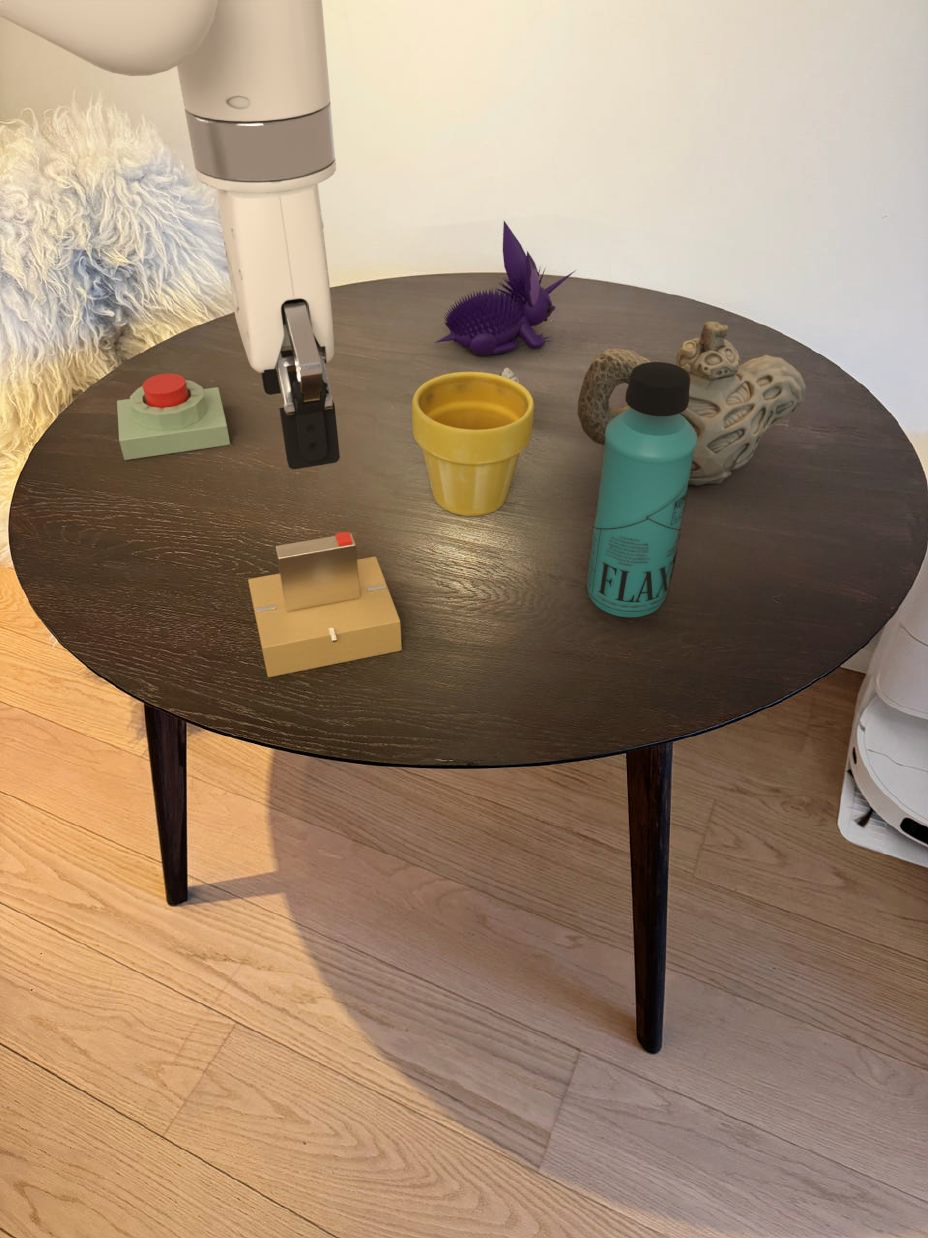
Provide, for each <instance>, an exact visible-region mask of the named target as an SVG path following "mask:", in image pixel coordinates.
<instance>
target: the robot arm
mask: <svg viewBox="0 0 928 1238" xmlns="http://www.w3.org/2000/svg"><path fill="white" fill-rule="evenodd" d="M0 18H3V19H5V20H7V21H9V22H11V23H13V24H15V25H16V26H18V27H21V28H23V29H24V30H26V31H28V32H30V33H32V34H33V35H36V36H38V37H40V38H42V39H43V40H46V41H47V42H49V43H51V44H53V45H55V46H57V47H59V48H61V49H63V50H65V51H66V52H69V53H70V54H72V55H73V56H76V57H77V58H79V59H81V60H83V61H85V62H87V63H89V64H91V65H93V66H94V67H97V68H99V69H101V70H103V71H106V72H109V73H112V74H117V75H123V76H129V77H145V76H146V77H147V76H153V75H157V74H160V73H164V72H168V71H170V70H172V69H174V68H176V69H177V74H178V75H177V76H178V80H179V86H180V92H181V97H182V102H183V107H184V114H185V120H186V125H187V130H188V137H189V142H190V147H191V153H192V154H191V155H192V159H193V164H194V169H195V175H196V179H197V180H198V181H199V182H200V183H201V184H204V185H205V186H208V187H209V188H213V189H216V190H217V201H218V202H217V203H218V211H219V217H220V225H221V231H222V238H223V243H224V244H223V245H224V252H225V257H226V264H227V269H228V270H227V271H228V276H229V283H230V289H231V296H232V297H231V298H232V304H233V311H234V317H235V320H236V321H235V322H236V326H237V328H238V332H239V335H240V338H241V341H242V344H243V348H244V351H245V355H246V357H247V360H248V363H249V365H250V367H251V368H252V369H253V370H254V371H256V372H257V373H259V374H261V380H262V381H261V382H262V386H263V390H264V392H265V394H266V395H269V396H270V395H277V394H281V399H282V404H283V407H279V408H278V410H279V416H280V423H281V430H282V437H283V444H284V451H285V458H286V462H287V465H288V468H289V469H292V470H300V469H307V468H311V467H317V466H324V465H330V464H336V463H338V462H339V460H340V458H341V455H340V443H339V435H338V425H337V416H336V406H335V402H334V400H333V397H332V392H331V386H330V380H329V377H328V371H327V366H326V365H327V364H328V363H329V362H330V361H331V360H332V359H333V357H334V356H335V335H334V321H333V319H334V318H333V309H332V298H331V297H332V296H331V287H330V279H329V278H330V277H329V267H328V259H327V258H328V257H327V250H326V241H325V234H324V233H325V231H324V222H323V216H322V207H321V199H320V192H319V191H320V190H319V184H320V183H323V182H325V181H327V180H329V178H331V177H332V176H333V175H334V174H335V172H336V171H337V162H336V161H337V160H336V152H335V139H334V127H333V115H332V105H331V94H330V93H331V92H330V81H329V69H328V68H329V67H328V56H327V55H328V54H327V44H326V32H325V22H324V9H323V0H0Z"/></svg>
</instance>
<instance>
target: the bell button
mask: <svg viewBox="0 0 928 1238" xmlns="http://www.w3.org/2000/svg"><path fill="white" fill-rule="evenodd" d="M185 380H186V378H185V377H184V376H182V375H180V374H176V373H161V374H157V375H154V376H150V377H149V378H146V380H145V381H144V382H143V383H142V386H143V390H144V394H145V398H146V402H147V404H148V406H150V407H158V408H166V407H174V406H177V405H180V404H182V403H184V402H186V401H187V400H188V399H189V395H188V390H187V385H186V381H185Z"/></svg>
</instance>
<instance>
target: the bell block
mask: <svg viewBox="0 0 928 1238" xmlns="http://www.w3.org/2000/svg"><path fill="white" fill-rule="evenodd" d="M185 381H186V385H187V390H188V395H189V399H188V400H187V401H186V402H184V403H182V404H180V405H177V406H174V407H166V408H158V407H150V406H148V404H147V402H146V398H145V394H144V390H143V385H142V386H139V387H138V388H137V389H136V390H135V391H133V393H131V394H130V395H129V398H125V399H118V400H116V408H117V410H116V411H117V426H118V427H117V428H118V429H117V430H118V442H119V446H120V449H121V453H122V456H123V460H124V461H128V460H136V459H143V458H149V457H156V456H164V455H169V454H177V453H184V452H191V451H197V450H203V449H205V450H206V449H211V448H218V447H222V446H223V447H224V446H230V445H231V440H230V435H229V428H228V424H227V420H226V415H225V411H224V406H223V405H224V404H223V401H222V396H221V391H220V388H219V386H217V387H216V386H215V387H208V388H204V387H203V386H201V385H200V384H198V383H196V382H195V381H193V380H188V379H185Z"/></svg>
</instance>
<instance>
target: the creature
mask: <svg viewBox="0 0 928 1238" xmlns="http://www.w3.org/2000/svg"><path fill="white" fill-rule="evenodd" d="M502 227H503V229H502V258H503V268H504V270H505V273H506V276H507V278H508V279H507V278H506V277H504V276H503V278H502V280H503V281H504V282H505V283H506V284H507V285H508V286H507V285H505V284H504V283H502V282H500V281H499V282H498V284H499V285H500V286H501V287H502V288H504V289H500V288H498V287H497V288H495V287H494V288H491V289H488V290H487V289H485V290H482V292H481V289H479V290H476V292H475V291H474V290H473V291H472V292H470V293H467V296H466V295H464V297H463V296H461V298H460V297H458V298H459V300H458V299H457V300H456V301H455V300H454V303H452V305H450V307H451V308H449V307H448V308H447V312H446V313H445V312H444V314H445V315H444V316H443V319H444V320H445V321H443V323H444V324H445V326H446V327H447V329H448V330H449V334H446V335H445V336H443V337H442V338H440V339H438V340H436V341H435V342H434V343H435V344H436V343H442V342H450V341H454V342H455V343H456V344H458V345H459V346H461V347H463V348H466V349H469V350H470V351H471V352H472V354H474V355H476V356H480V357H483V356H488V355H498V354H504V353H507V352H511V351H512V350H515V349H516V348H518V347H523V344H520V343H521V341H518V342H517V340H518V337H520V338H521V339H522V340H523V341H524V342H525V344H526V345H527V346H528V347H530V348H533V349H539V348H542V347H543V346H544V345H545V344H546V343H549V342H551V343H552V342H553V340H546V339H549V338H552V337H553V336H552V335H551V336H546V337H544V336H543V335H544V332H542V333H540V334H538V333H536V331H535V330H534V329H533V327H536V326H538V325H539V326H540V324H542V323H544V322H548V318H549V317H551V315H552V313H553V311H555V310H556V306H555V305H554V304H553V302H552V299H551V297H550V294H551V293H552V292H553V291H555V289H557V287H559V286H560V285H561V284H563V282H565V281H566V280H567V279H568V278H569V277H571V276H572V274H574V273H575V272H576V271H577V269H575V270H574V271H572V272H570V273H569V274H567V275H566V276H563V277H562V278H561V279H559V280H557V281H555V282H554V283H553V284H551V285H549V286H547V287H546V288H544V287H543V286H541V283H542V280H543V277H544V274H545V272H546V268H547V267H546V266H545V267H544V270H543V272H542V274H541V276H540V273H541V267H542V266H541V265H540V266H539V270H538V268H537V264H536V262H535V260H534V259H533V257H532V256H531V254H530V252H529V251H528V250H527V251H526V252H525V250H524V248H523V246H522V244H521V243H520V241H519V240H518V238H517V236H516V235H515V234H514V233H513V231H512V230H511V228H510V227H509V225H508V224H507V222H506V221H505V220H503V226H502ZM493 289H495V290H493ZM505 290H506V291H505ZM478 291H479V292H478ZM472 294H473V295H472ZM469 295H470V296H469ZM456 302H457V303H456Z"/></svg>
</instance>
